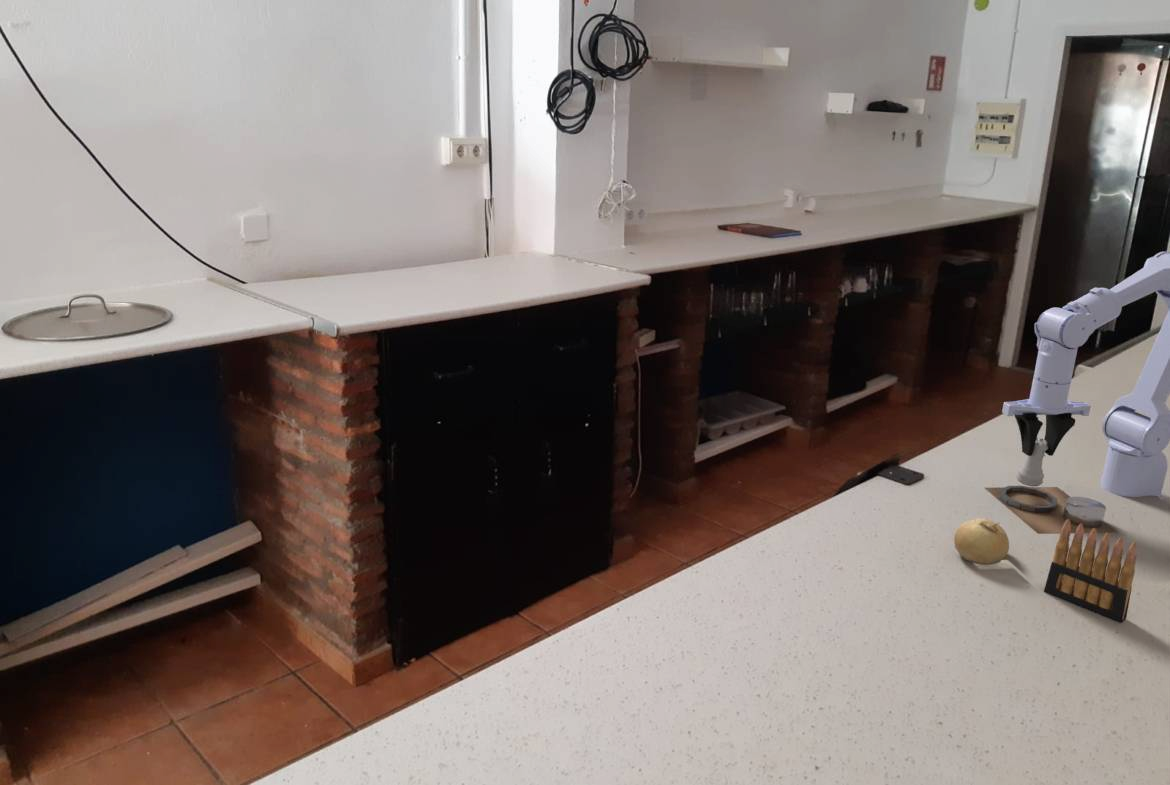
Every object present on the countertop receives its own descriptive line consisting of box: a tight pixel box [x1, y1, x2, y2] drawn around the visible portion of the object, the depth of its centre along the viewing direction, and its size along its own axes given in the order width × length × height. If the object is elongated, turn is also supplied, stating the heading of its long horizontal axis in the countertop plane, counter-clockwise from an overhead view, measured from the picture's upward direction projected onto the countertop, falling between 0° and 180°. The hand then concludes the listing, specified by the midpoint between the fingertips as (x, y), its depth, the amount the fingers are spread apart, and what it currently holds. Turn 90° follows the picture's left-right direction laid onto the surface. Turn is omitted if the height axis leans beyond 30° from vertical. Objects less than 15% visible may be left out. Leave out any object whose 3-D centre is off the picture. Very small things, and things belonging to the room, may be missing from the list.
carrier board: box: [984, 486, 1119, 535], centre depth 160 cm, size 14×18×1 cm
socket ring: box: [1000, 485, 1057, 513], centre depth 162 cm, size 9×9×1 cm
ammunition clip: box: [1043, 519, 1138, 624], centre depth 130 cm, size 11×2×12 cm, turn 41°
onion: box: [953, 517, 1010, 566], centre depth 143 cm, size 8×8×7 cm
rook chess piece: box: [1015, 437, 1048, 487], centre depth 160 cm, size 4×4×8 cm
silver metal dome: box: [1063, 496, 1107, 528], centre depth 155 cm, size 6×6×3 cm
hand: (1037, 453), depth 159 cm, fingers closed on rook chess piece, 3 cm apart
